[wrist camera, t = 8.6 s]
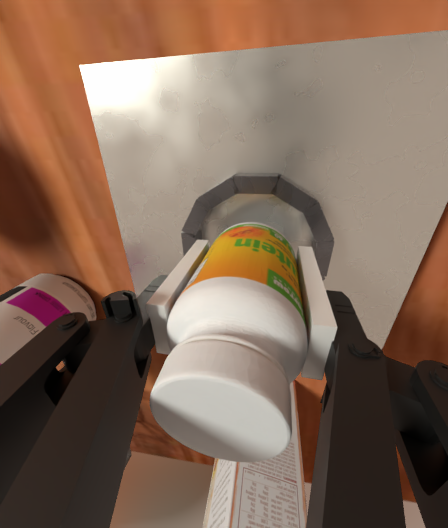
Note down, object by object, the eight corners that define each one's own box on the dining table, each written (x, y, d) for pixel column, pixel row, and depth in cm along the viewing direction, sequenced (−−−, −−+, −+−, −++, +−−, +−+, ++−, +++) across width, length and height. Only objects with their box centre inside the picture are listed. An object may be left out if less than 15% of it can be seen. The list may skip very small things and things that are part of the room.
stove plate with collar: (502, 34, 11) (569, 2, 8) (368, 356, 21) (380, 384, 19) (93, 70, 15) (57, 56, 12) (150, 325, 25) (137, 345, 23)
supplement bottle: (314, 246, 13) (378, 429, 5) (267, 307, 16) (257, 491, 8) (231, 203, 13) (149, 318, 5) (199, 273, 16) (110, 423, 7)
